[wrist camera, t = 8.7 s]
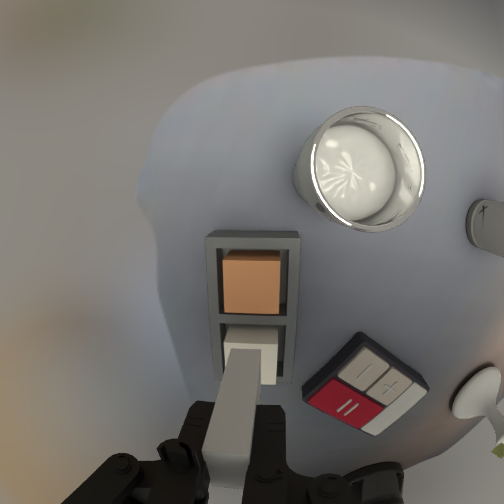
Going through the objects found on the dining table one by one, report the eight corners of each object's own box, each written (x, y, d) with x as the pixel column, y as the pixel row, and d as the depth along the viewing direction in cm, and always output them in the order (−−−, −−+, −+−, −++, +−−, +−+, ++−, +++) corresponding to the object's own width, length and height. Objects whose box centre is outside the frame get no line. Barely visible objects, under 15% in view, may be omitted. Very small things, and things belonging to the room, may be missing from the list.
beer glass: (283, 149, 27) (291, 108, 12) (348, 141, 26) (415, 101, 11) (295, 216, 28) (317, 247, 13) (359, 206, 27) (435, 227, 13)
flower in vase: (503, 366, 30) (569, 443, 6) (468, 413, 33) (518, 497, 9) (472, 355, 30) (554, 454, 6) (431, 409, 33) (485, 517, 9)
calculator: (366, 343, 27) (433, 392, 27) (357, 326, 31) (422, 375, 32) (300, 404, 30) (375, 440, 30) (300, 383, 34) (370, 422, 34)
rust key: (278, 297, 29) (278, 313, 25) (231, 296, 29) (224, 312, 25) (279, 250, 28) (280, 261, 24) (229, 250, 28) (222, 260, 24)
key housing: (290, 363, 32) (291, 383, 28) (220, 360, 33) (214, 380, 29) (297, 231, 28) (300, 238, 24) (214, 230, 29) (205, 237, 25)
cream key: (276, 362, 29) (275, 384, 26) (231, 360, 30) (226, 382, 26) (277, 324, 28) (277, 344, 24) (230, 322, 29) (223, 342, 25)
